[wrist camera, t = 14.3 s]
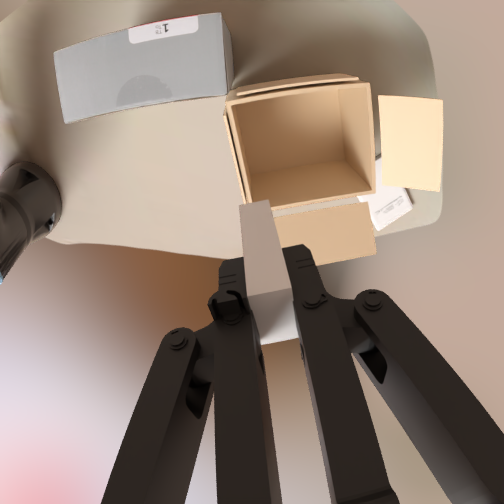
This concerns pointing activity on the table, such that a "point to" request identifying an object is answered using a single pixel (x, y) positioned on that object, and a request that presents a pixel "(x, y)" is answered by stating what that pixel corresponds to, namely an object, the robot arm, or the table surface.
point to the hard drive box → (145, 67)
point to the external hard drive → (386, 200)
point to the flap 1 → (330, 232)
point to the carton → (302, 139)
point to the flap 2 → (411, 141)
